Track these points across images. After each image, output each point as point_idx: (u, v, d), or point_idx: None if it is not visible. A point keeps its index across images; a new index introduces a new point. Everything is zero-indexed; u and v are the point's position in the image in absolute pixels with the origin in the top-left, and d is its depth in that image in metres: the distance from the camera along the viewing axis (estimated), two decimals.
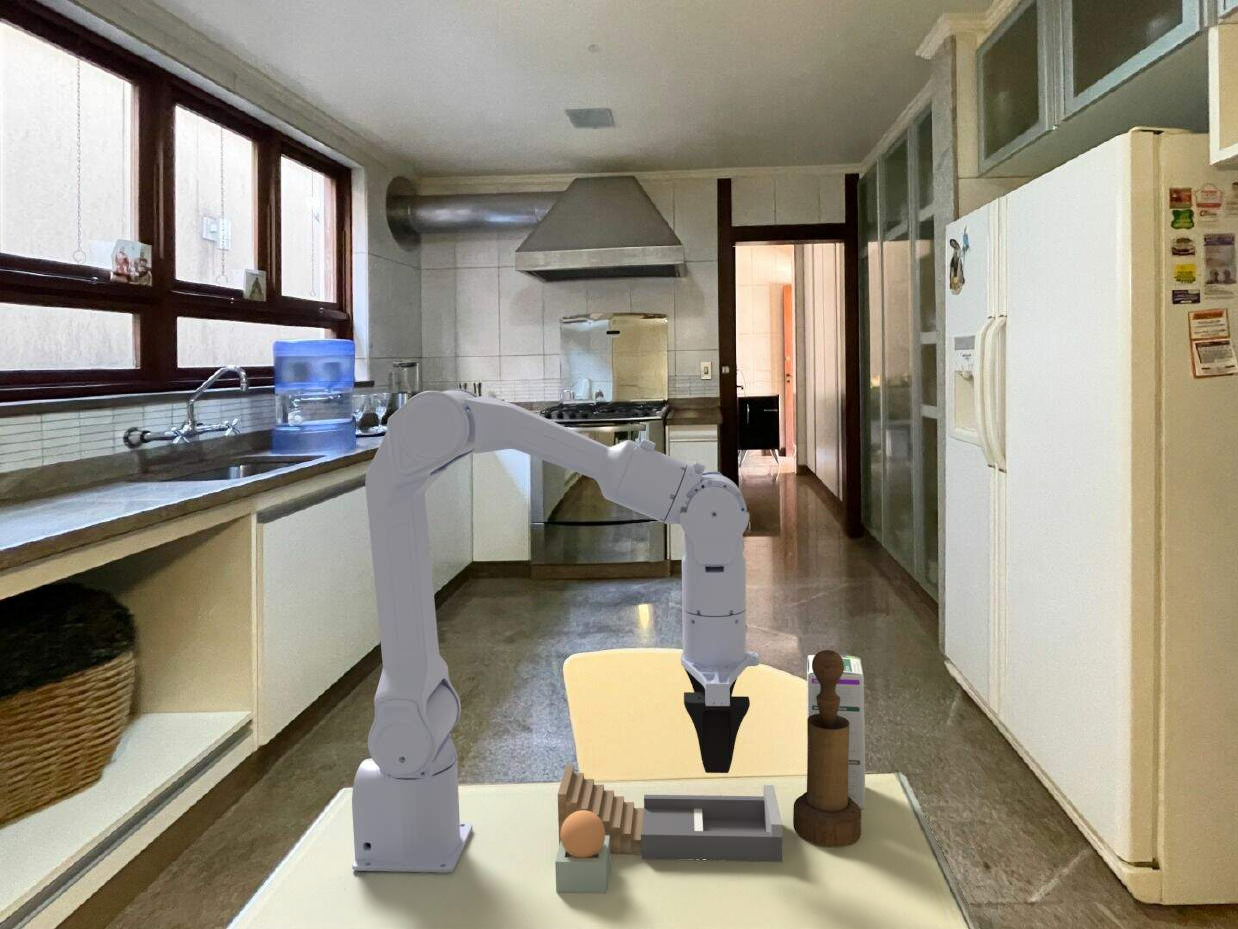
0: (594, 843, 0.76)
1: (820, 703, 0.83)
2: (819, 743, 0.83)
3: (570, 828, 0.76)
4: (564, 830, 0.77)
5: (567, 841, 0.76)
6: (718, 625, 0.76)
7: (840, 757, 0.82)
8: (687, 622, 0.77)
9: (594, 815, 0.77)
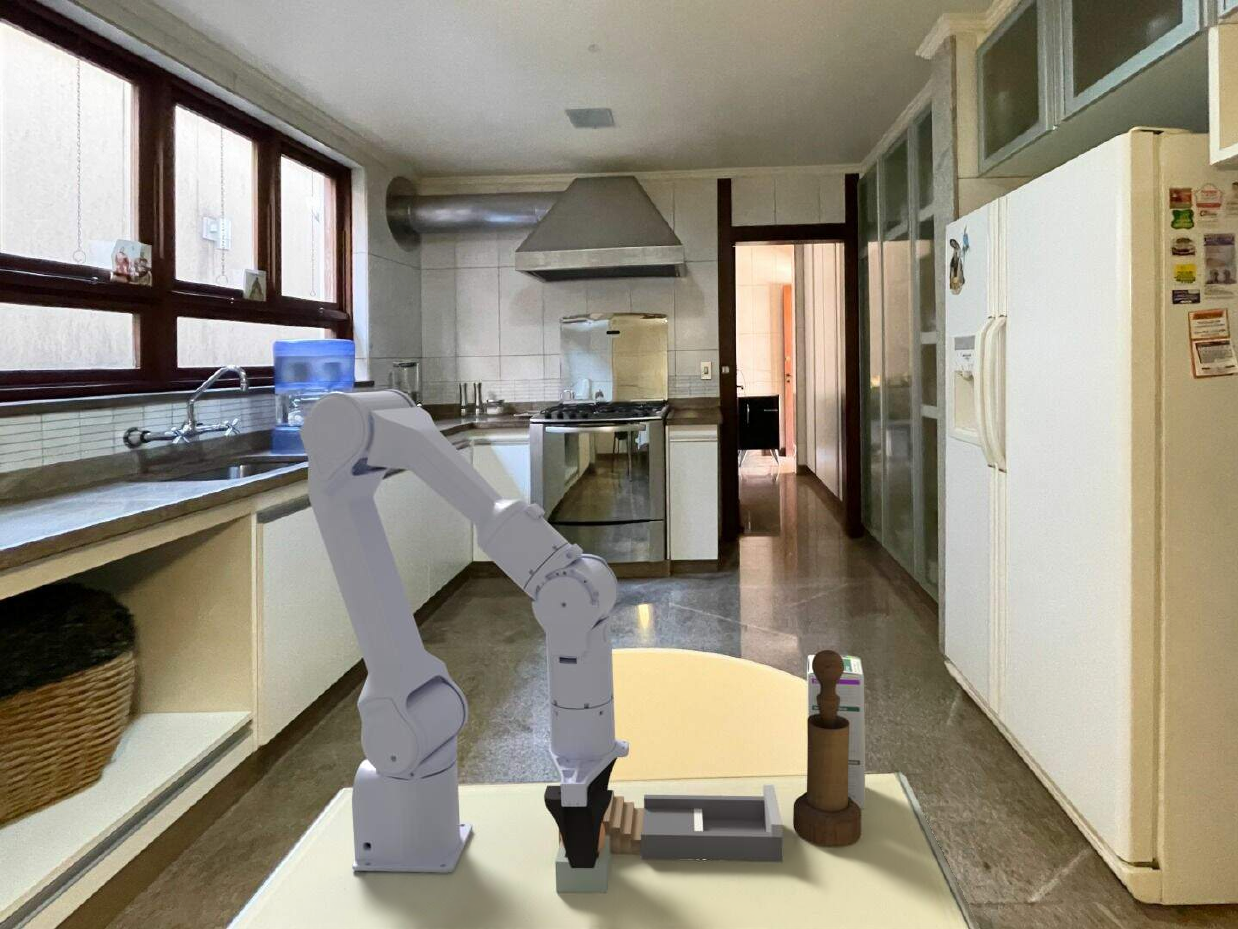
0: None
1: (820, 703, 0.83)
2: (819, 743, 0.83)
3: None
4: None
5: None
6: (581, 718, 0.73)
7: (840, 757, 0.82)
8: (551, 713, 0.75)
9: None
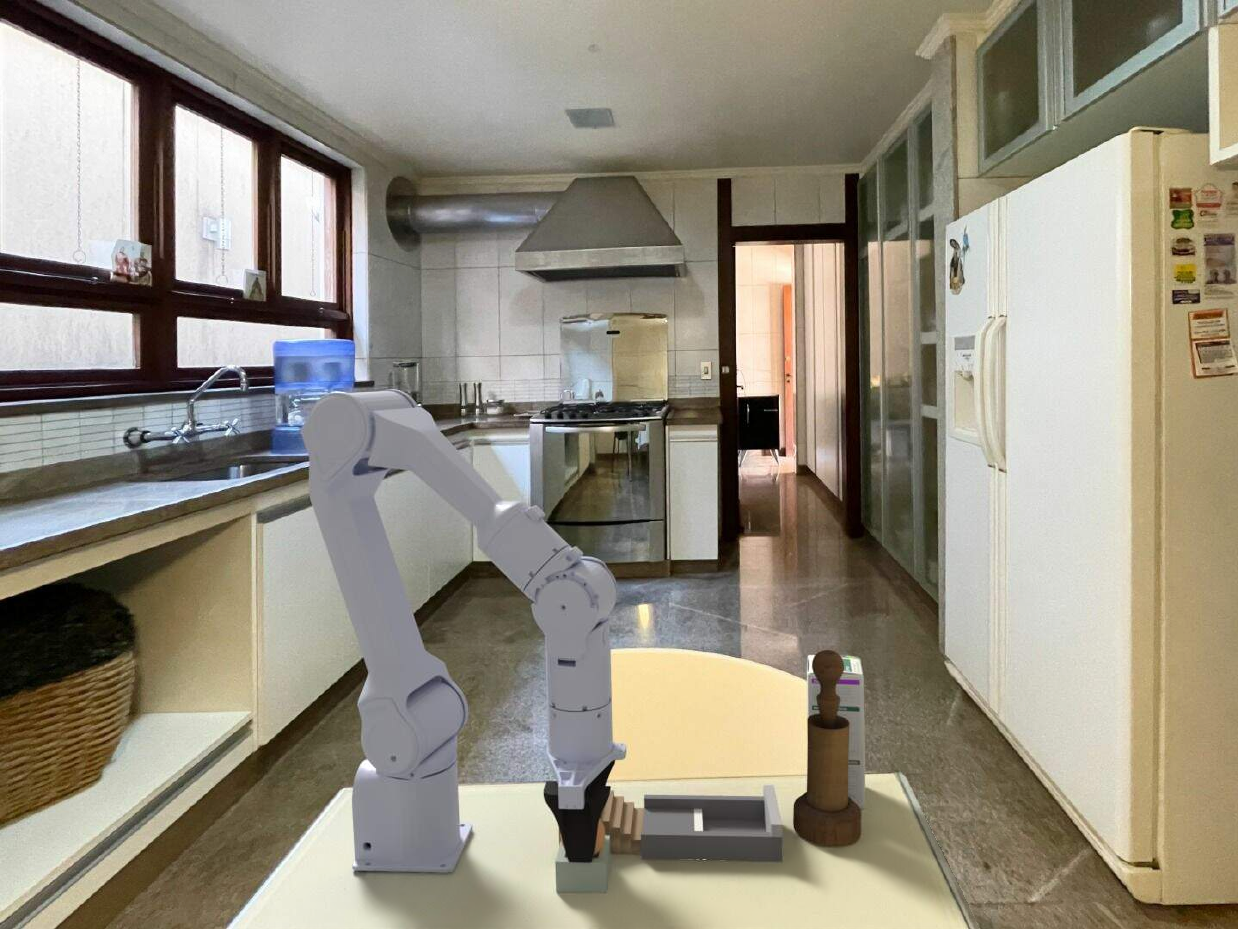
0: None
1: (820, 703, 0.83)
2: (819, 743, 0.83)
3: None
4: None
5: None
6: (579, 720, 0.73)
7: (840, 757, 0.82)
8: (550, 715, 0.75)
9: None
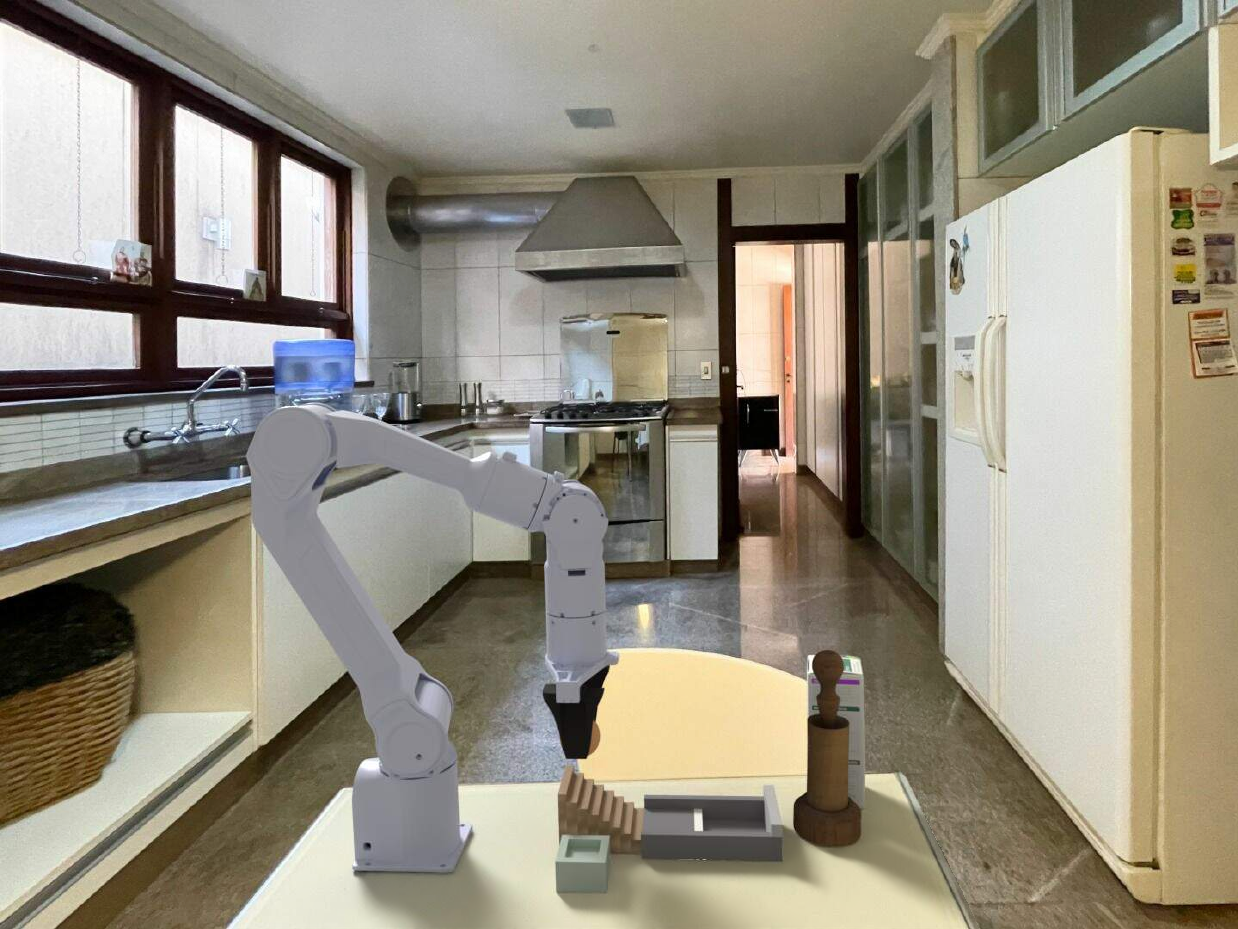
0: None
1: (820, 703, 0.83)
2: (819, 743, 0.83)
3: None
4: None
5: None
6: (575, 626, 0.80)
7: (840, 757, 0.82)
8: (548, 623, 0.81)
9: None
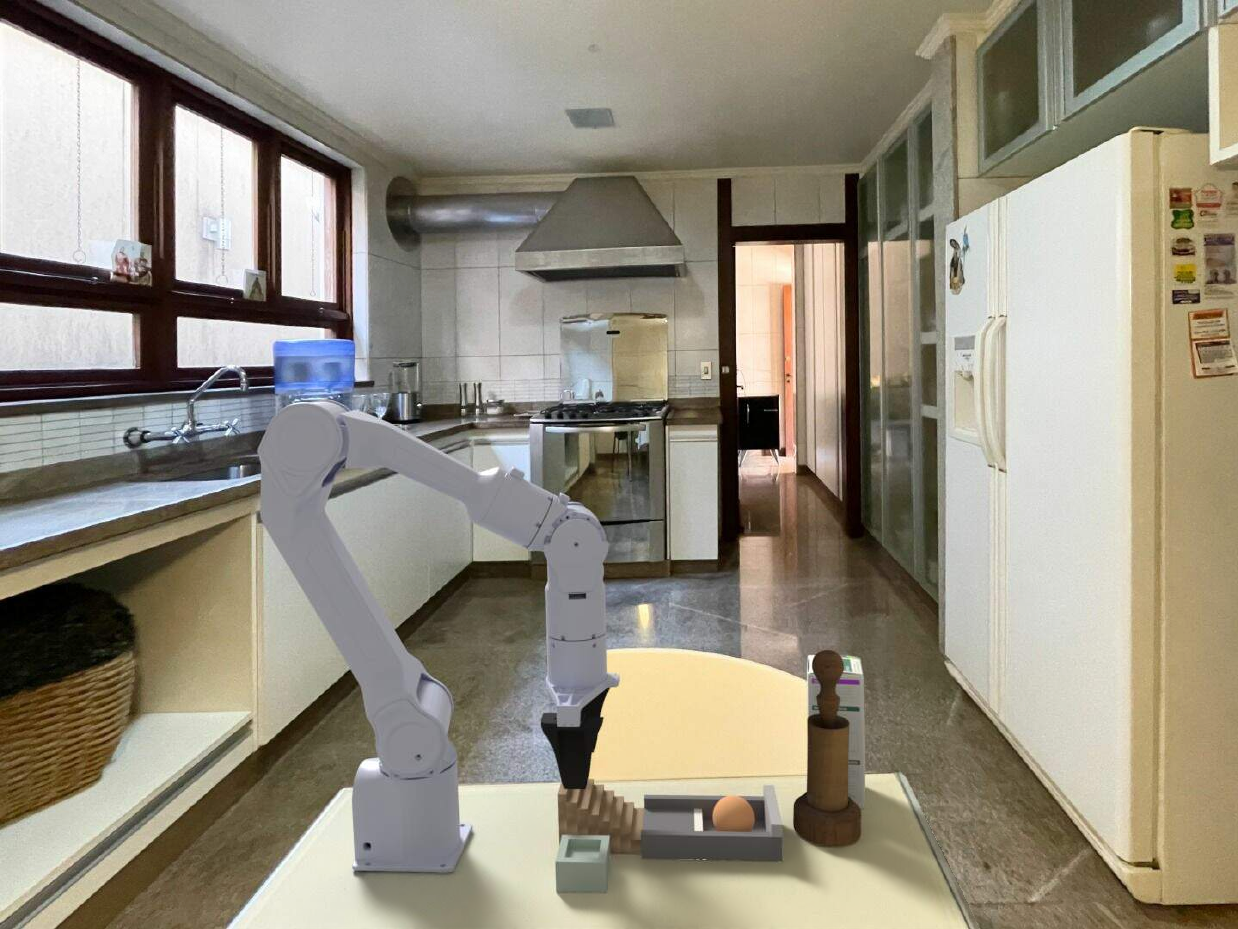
0: None
1: (820, 703, 0.83)
2: (819, 742, 0.83)
3: (749, 827, 0.82)
4: (751, 818, 0.82)
5: (744, 820, 0.81)
6: (576, 649, 0.80)
7: (840, 757, 0.82)
8: (549, 646, 0.81)
9: None
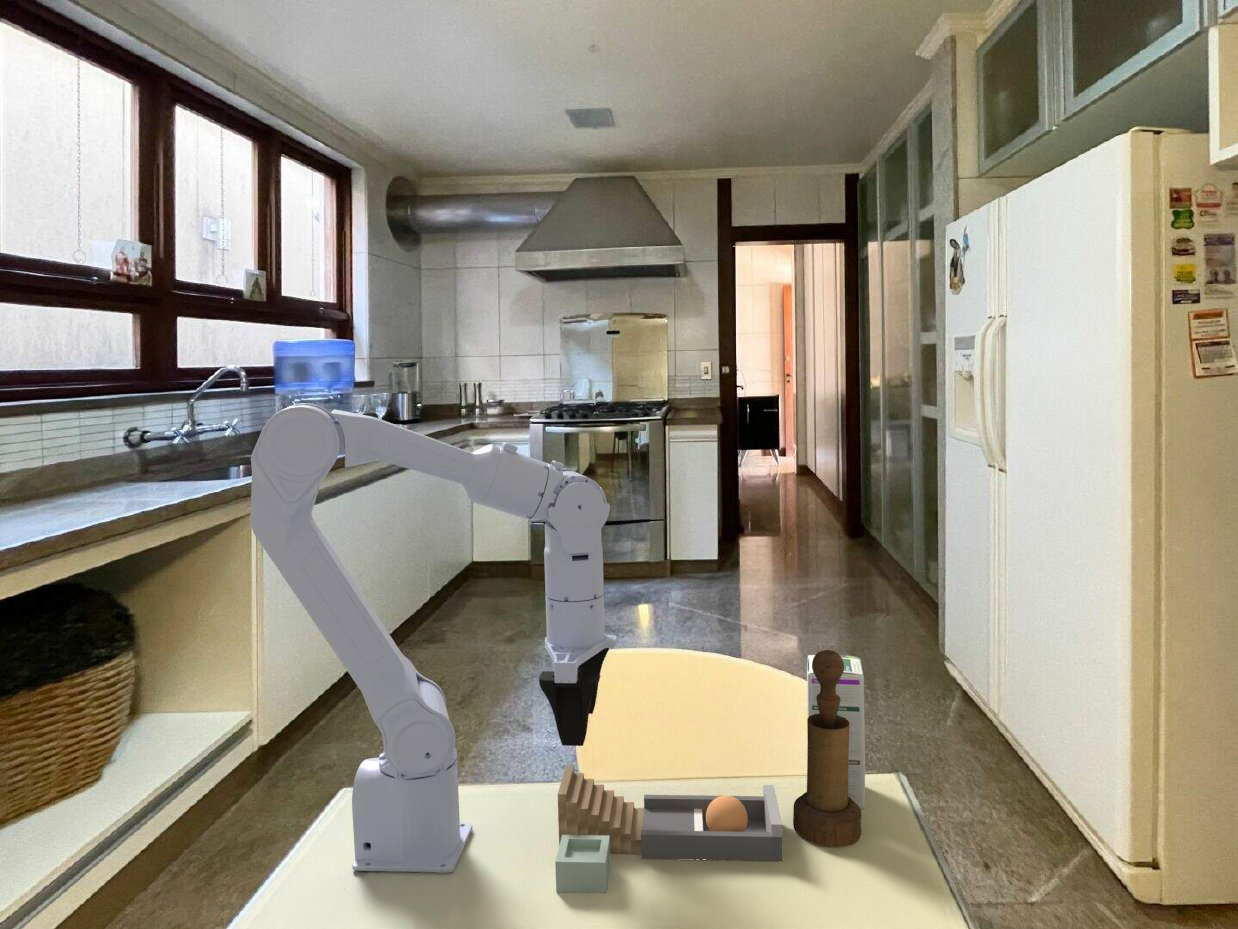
0: None
1: (820, 703, 0.83)
2: (819, 743, 0.83)
3: (742, 822, 0.82)
4: (741, 813, 0.82)
5: (734, 818, 0.81)
6: (573, 609, 0.82)
7: (840, 757, 0.82)
8: (548, 607, 0.84)
9: None
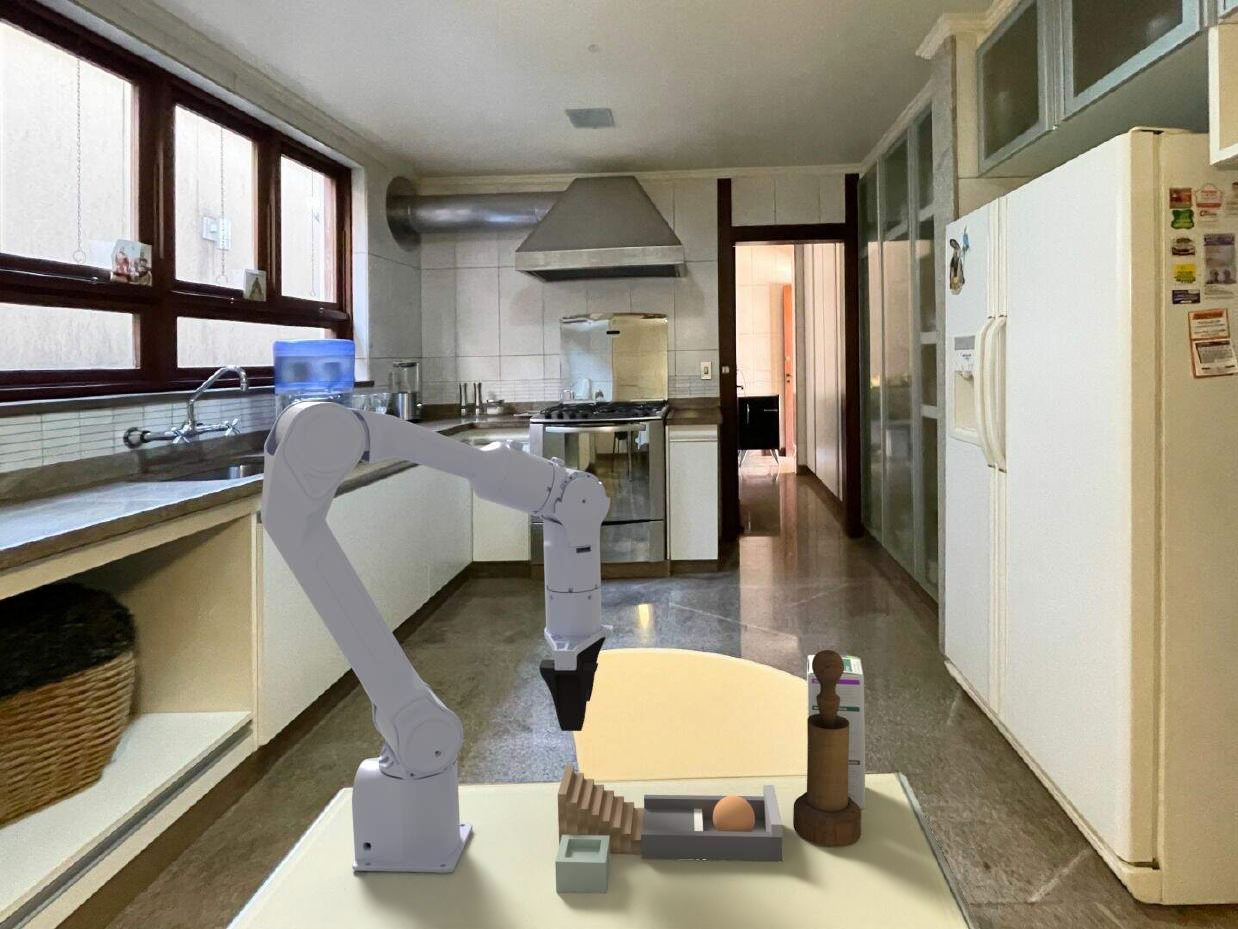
0: None
1: (820, 703, 0.83)
2: (819, 743, 0.83)
3: (750, 827, 0.82)
4: (751, 819, 0.82)
5: (744, 821, 0.81)
6: (572, 600, 0.86)
7: (840, 757, 0.82)
8: (547, 598, 0.87)
9: None
